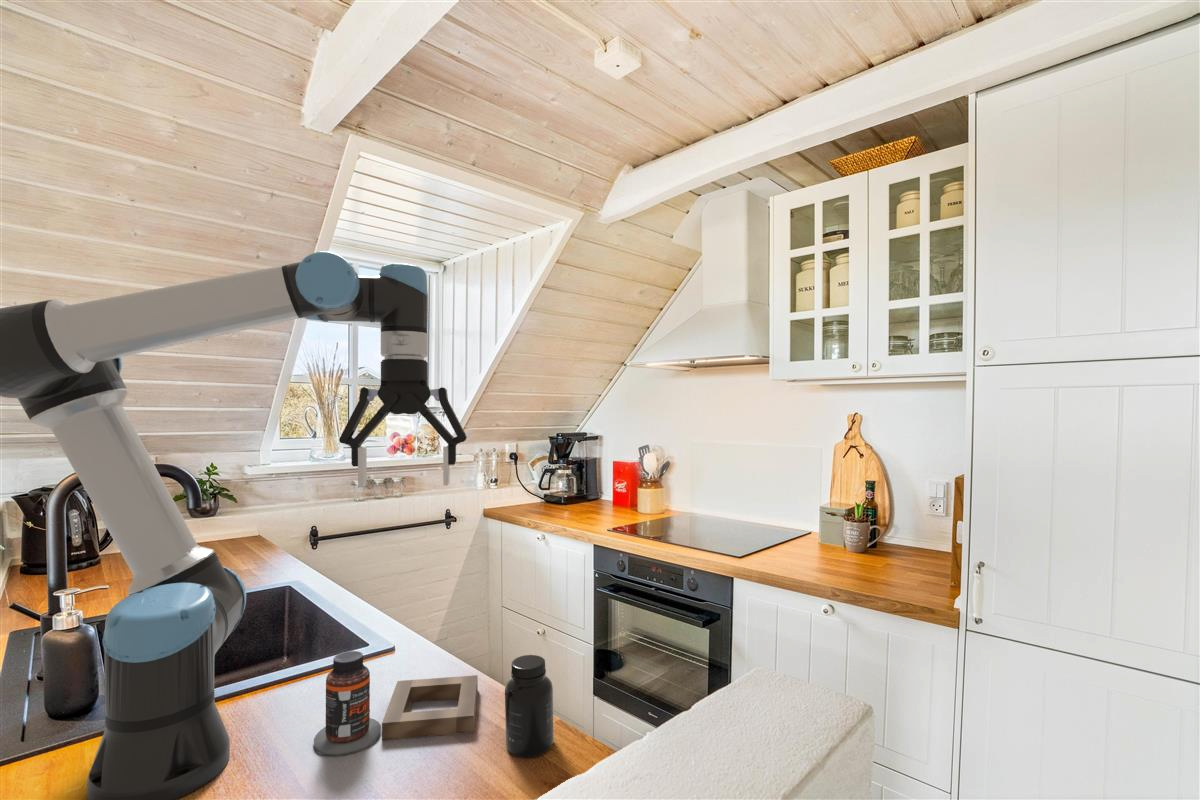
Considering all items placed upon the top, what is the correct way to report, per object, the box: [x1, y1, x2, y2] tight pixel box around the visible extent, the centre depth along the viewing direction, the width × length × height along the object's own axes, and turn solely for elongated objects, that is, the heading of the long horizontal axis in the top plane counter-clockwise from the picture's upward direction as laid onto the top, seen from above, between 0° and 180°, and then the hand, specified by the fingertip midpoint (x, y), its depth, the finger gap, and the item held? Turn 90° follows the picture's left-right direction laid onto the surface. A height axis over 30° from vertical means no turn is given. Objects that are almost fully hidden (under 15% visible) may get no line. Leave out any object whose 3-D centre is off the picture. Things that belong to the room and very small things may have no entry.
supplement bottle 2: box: [504, 654, 555, 759], centre depth 86 cm, size 7×7×12 cm
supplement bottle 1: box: [325, 650, 371, 743], centre depth 88 cm, size 6×6×11 cm
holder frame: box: [381, 674, 479, 741], centre depth 94 cm, size 13×13×2 cm
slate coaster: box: [313, 717, 382, 757], centre depth 88 cm, size 9×9×1 cm
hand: (404, 485), depth 101 cm, fingers open, 13 cm apart
